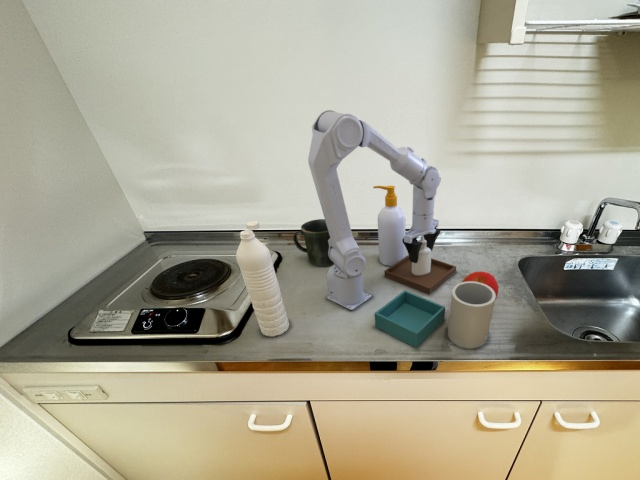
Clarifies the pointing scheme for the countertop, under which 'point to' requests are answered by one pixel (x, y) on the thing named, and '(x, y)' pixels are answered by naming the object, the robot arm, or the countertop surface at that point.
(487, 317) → the cup
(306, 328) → the countertop surface
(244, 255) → the water bottle
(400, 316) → the bin
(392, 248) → the soap bottle
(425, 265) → the eye dropper bottle
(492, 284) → the apple
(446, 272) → the tray
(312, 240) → the mug
